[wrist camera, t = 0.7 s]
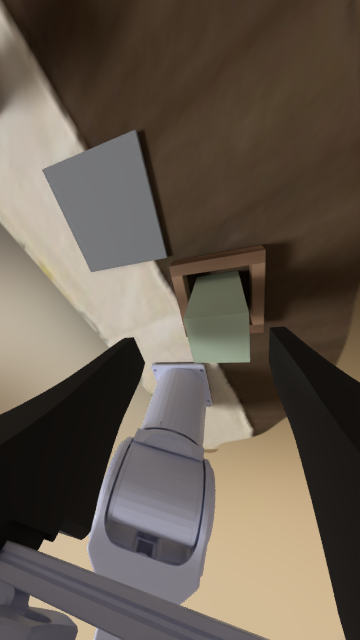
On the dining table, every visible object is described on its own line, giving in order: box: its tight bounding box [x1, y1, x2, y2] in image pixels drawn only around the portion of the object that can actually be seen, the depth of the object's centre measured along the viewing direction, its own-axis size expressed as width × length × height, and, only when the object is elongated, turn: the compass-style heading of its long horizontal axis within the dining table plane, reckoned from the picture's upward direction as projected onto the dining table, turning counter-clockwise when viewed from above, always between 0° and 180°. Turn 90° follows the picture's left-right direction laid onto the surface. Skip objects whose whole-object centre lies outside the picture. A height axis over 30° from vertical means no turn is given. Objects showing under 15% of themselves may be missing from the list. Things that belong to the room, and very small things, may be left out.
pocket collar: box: [169, 245, 266, 337], centre depth 18 cm, size 8×8×2 cm
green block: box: [183, 271, 250, 363], centre depth 15 cm, size 4×4×8 cm
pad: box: [42, 130, 168, 272], centre depth 16 cm, size 9×9×1 cm
